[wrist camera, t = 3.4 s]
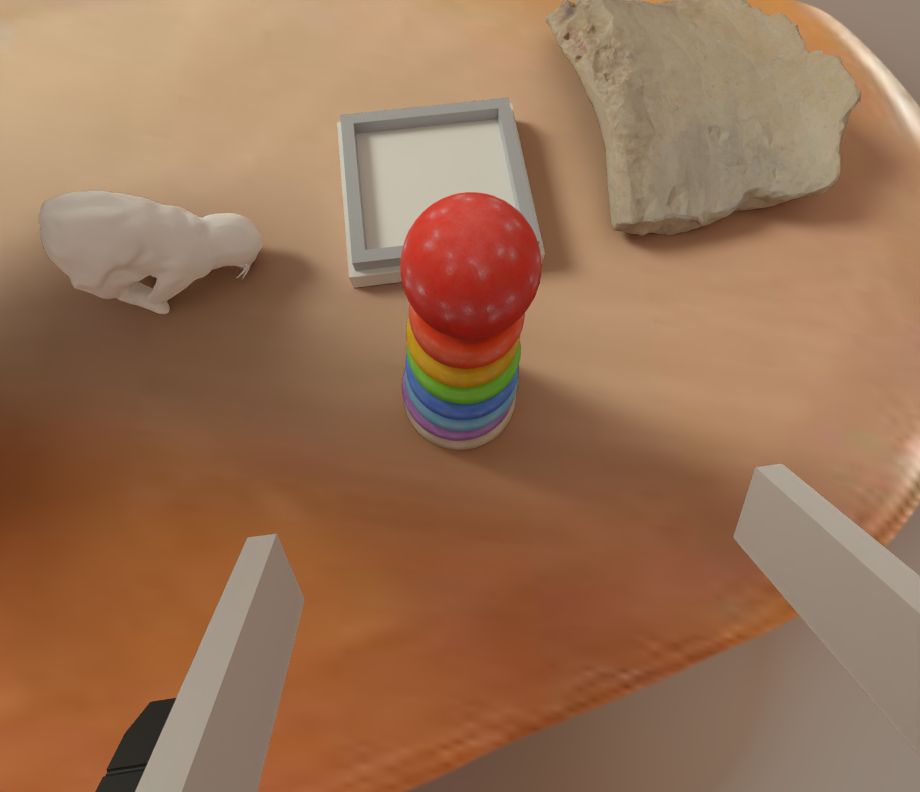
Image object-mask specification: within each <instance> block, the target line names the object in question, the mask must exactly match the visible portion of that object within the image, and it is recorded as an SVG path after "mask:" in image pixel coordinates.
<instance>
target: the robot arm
mask: <svg viewBox="0 0 920 792" xmlns="http://www.w3.org/2000/svg"><path fill="white" fill-rule="evenodd" d="M733 538H734V539H735V540H736V542H737V543H738V544H739V545H740V546H741V547H742V549H743V550H744V551H745V552H746V553H747V554H748V556H749V557H750V558H751V559H752V560H753V561H754V563H755V564H756V565H757V566H758V567H759V569H760V570H761V571H762V572H763V573H764V574H765V576H766V577H767V578H768V579H769V580H770V581H771V583H772V584H773V585H774V586H775V587H776V588H777V590H778V591H779V592H780V593H781V594H782V596H783V597H784V598H785V599H786V600H787V601H788V603H789V604H790V605H791V606H792V607H793V608H794V610H795V611H796V612H797V613H798V614H799V615H800V617H801V618H802V619H803V620H804V621H805V622H806V624H807V625H808V626H809V627H810V628H811V630H812V631H813V632H814V633H815V634H816V635H817V637H818V638H819V639H820V640H821V641H822V642H823V644H824V645H825V646H826V647H827V648H828V649H829V651H830V652H831V653H832V654H833V655H834V656H835V658H836V659H837V660H838V661H839V662H840V663H841V665H842V666H843V667H844V668H845V669H846V671H847V672H848V673H849V674H850V675H851V676H852V678H853V679H854V680H855V681H856V682H857V683H858V685H859V686H860V687H861V688H862V689H863V691H864V692H865V693H866V694H867V695H868V696H869V697H870V699H871V700H872V701H873V702H874V703H875V705H876V706H877V707H878V708H879V709H880V710H881V712H882V713H883V714H884V715H885V716H886V717H887V719H888V720H889V721H890V722H891V723H892V724H893V726H894V727H895V728H896V729H897V730H898V731H899V733H900V734H901V735H902V736H903V737H904V739H906V741H907V742H908V743H909V744H910V745H911V747H912V748H913V749H914V750H915V752H916V753H917V754H918V755H919V756H920V576H919V575H918V574H916V573H915V572H914V571H913V570H912V569H910V568H909V567H908V566H906V565H905V564H904V563H903V562H902V561H901V560H899V559H898V558H897V557H896V556H895V555H893V554H892V553H891V552H890V551H888V550H887V549H886V548H885V547H883V546H882V545H881V544H880V543H879V542H877V541H876V540H875V539H874V538H872V537H871V536H870V535H869V534H868V533H866V532H865V531H864V530H863V529H861V528H860V527H859V526H858V525H857V524H855V523H854V522H853V521H852V520H850V519H849V518H848V517H847V516H846V515H844V514H843V513H842V512H841V511H839V510H838V509H837V508H836V507H835V506H833V505H832V504H831V503H830V502H828V501H827V500H826V499H825V498H823V497H822V496H821V495H820V494H819V493H817V492H816V491H815V490H814V489H812V488H811V487H810V486H809V485H808V484H806V483H805V482H804V481H803V480H801V479H800V478H799V477H798V476H797V475H795V474H794V473H793V472H792V471H790V470H789V469H788V468H787V467H786V466H784V465H783V464H775V465H768V466H761V467H755V470H754V473H753V476H752V479H751V483H750V486H749V489H748V492H747V495H746V498H745V502H744V505H743V508H742V511H741V514H740V517H739V520H738V524H737V527H736V530H735V533H734V536H733ZM304 601H305V599H304V596H303V594H302V592H301V589H300V587H299V585H298V582H297V580H296V578H295V575H294V573H293V571H292V568H291V566H290V564H289V561H288V559H287V557H286V554H285V552H284V550H283V547H282V545H281V543H280V540H279V538H278V535H277V534H270V535H263V536H255V537H248V538H247V540H246V542H245V544H244V546H243V549H242V551H241V553H240V555H239V558H238V560H237V562H236V564H235V567H234V569H233V571H232V573H231V576H230V578H229V580H228V583H227V585H226V587H225V589H224V592H223V594H222V596H221V598H220V601H219V603H218V605H217V607H216V610H215V612H214V614H213V617H212V619H211V621H210V623H209V626H208V628H207V630H206V632H205V635H204V637H203V639H202V641H201V644H200V646H199V648H198V650H197V653H196V655H195V657H194V660H193V662H192V664H191V666H190V669H189V671H188V673H187V675H186V678H185V680H184V682H183V684H182V687H181V689H180V691H179V693H178V696H177V698H173V699H166V700H160V701H153V702H150V703H149V704H148V706H147V707H146V708H145V709H144V711H143V712H142V713H141V714H140V716H139V717H138V718H137V719H136V720H135V722H134V723H133V724H132V725H131V727H130V728H129V729H128V730H127V732H126V733H125V734H124V736H123V738H122V740H121V742H120V744H119V746H118V748H117V750H116V752H115V754H114V756H113V758H112V760H111V762H110V764H109V766H108V768H107V774H106V776H105V777H103V778H102V780H101V782H100V784H99V786H98V788H97V790H96V792H257V791H258V787H259V783H260V779H261V775H262V771H263V767H264V763H265V759H266V755H267V751H268V747H269V742H270V738H271V734H272V730H273V726H274V722H275V718H276V714H277V710H278V706H279V702H280V698H281V694H282V690H283V686H284V682H285V678H286V674H287V670H288V666H289V662H290V658H291V654H292V650H293V646H294V642H295V637H296V633H297V629H298V625H299V621H300V617H301V613H302V609H303V605H304Z"/></svg>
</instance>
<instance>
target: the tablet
mask: <svg viewBox="0 0 920 792" xmlns="http://www.w3.org/2000/svg"><path fill="white" fill-rule="evenodd" d="M546 23H547V24H548V25H549V27H550V28H551V30H552V32H553V34H554V36H555V38H556V39H557V42H558V44H559V46H560V48H561V49H562V50H563V53H564V54H565V55H566V56H567V58H568V59H569V61H570V63H571V64H572V65H573V66H574V68H575V70H576V71H577V73H578V75H579V77H580V79H581V81H582V84H583V87H584V88H585V90H586V92H587V95H588V99H589V101H590V102H591V104H592V106H593V108H594V109H595V112H596V116H597V119H598V122H599V125H600V128H601V132H602V137H603V142H604V145H605V149H606V165H607V177H608V191H609V199H610V215H611V224H612V227H613V229H614V230H617V231H621V232H626V233H630V234H639V235H641V236H642V235H645V234H647V233H650V232H651V233H656V234H665V235H673V234H678V233H680V232H688V231H690V230H691V229H696V228H699V227H701V226H706V225H709V224H711V223H713V222H715V221H717V220H719V219H721V218H724V217H727V216H729V215H730V214H731V213H732V212H733V211H742V210H752V209H756V208H765V207H772V206H774V205H776V204H780V203H785V202H787V201H789V200H791V199H798V198H802V197H805V196H809V195H812V196H819V195H821V194H823V193H825V192H826V191H827V190H828V189H830V188H831V187H832V186H833V185H834V184H835V183H836V182H837V180H838V179H839V177H840V163H841V160H842V159H841V156H840V154H839V150H840V143H841V139H842V135H843V132H844V130H845V127H846V125H847V122H848V117H849V114H850V112H851V111H852V109H853V108H854V107H855V106H856V104H857V103H858V102H859V101H860V100H861V92H860V90H859V89H858V88H857V87H856V83H855V80H854V79H853V77H852V76H851V74H850V73H849V72H848V71H847V70H846V69H845V68H844V67H843V64H842V62H841V59H840V57H838V56H835V55H823V52H822V50H815V51H813V52H809V51H808V50H807V49H806V45H805V41H804V40H803V39H802V37H801V35H800V33H799V30H798V26H797V24H793V23H792V22H791V21H790V19H789V18H788V17H787V16H786V15H784V14H781V13H780V14H776V15H766V14H764V13H762V11H761V10H760V9H759V8H752V7H751V6H750V5H749V4H748V2H747V1H746V0H677V1H665V2H661V3H657V4H653V3H649V2H645V1H640V0H631V1H630V0H628V1H625V0H577V1H576V2H575V3H573V2H569V1H568V0H564V1H563V2H562V3H561V5H560V6H559V7H558V8H557V9H556V10H555V11H554V12H551V13H550V14H549V15H548V16H547V17H546Z"/></svg>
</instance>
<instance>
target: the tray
mask: <svg viewBox="0 0 920 792" xmlns="http://www.w3.org/2000/svg"><path fill="white" fill-rule="evenodd" d="M340 118H341V121H340V122H337V126H338V139H339V152H340V165H341V178H342V191H343V204H344V217H345V230H346V243H347V256H348V269H349V278H350V280H351V283H352V285H353V287H354V288H356V287H365V286H373V285H381V284H390V283H398V282H402V280H401V272H400V261H401V253H402V248H403V244H404V241H405V238H406V236H407V233H408V231H409V229H410V228H411V226H412V225H413V223H414V222H415V220H416V219H417V218H418V217H419V216H420V215H421V213H422V212H423V211H425V210H426V209H427V208H428V207H429V206H431V205H432V204H433V203H435V202H437V201H439V200H440V199H443V198H445V197H448V196H450V195H453V194H457V193H465V192H477V193H484V194H489V195H492V196H495V197H497V198H500V199H502V200H504V201H506V202H507V203H509V204H510V205H512V206H513V207H514V208H516V209H517V210H518V211H519V212H520V213H521V214H522V215H523V216H524V217H525V219H526V220H527V221H528V223H529V224H530V226H531V227H532V229H533V231H534V233H535V235H536V238H537V241H538V245H539V248H540V253H541V264H542V262H543V259H544V256H545V251H544V247H543V242H542V238H541V233H540V229H539V224H538V220H537V215H536V211H535V206H534V202H533V197H532V193H531V188H530V184H529V179H528V175H527V170H526V166H525V161H524V157H523V152H522V148H521V143H520V139H519V134H518V130H517V125H516V121H515V116H514V112H513V107H512V104H510V103H509V98H501V99H491V100H481V101H472V102H462V103H452V104H442V105H433V106H423V107H413V108H403V109H394V110H384V111H374V112H365V113H355V114H345V115H340Z"/></svg>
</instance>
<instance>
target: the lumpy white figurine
mask: <svg viewBox="0 0 920 792" xmlns="http://www.w3.org/2000/svg"><path fill="white" fill-rule="evenodd" d="M39 224H40V235H41V240H42V244H43V247H44V249H45V251H46V253H47V255H48V257H49V259H50V260H51V261H52V262H53V263H54V264H55V265H56V266H58V267H59V269H60V270H61V271H62V272H63V273H65V274H67V275H68V276H69V278H70V281H71V283H72V285H73V287H74V288H76V289H78V290H82V291H85V292H88V293H91V294H93V295H96V296H98V297H100V298H103V299H111V298H117V299H118V300H120V301H124V302H126V303H129V304H134V305H138V306H140V307H143V308H146V309H149V310H151V311H153V312H155V313H158V314H167V313H169V311H170V307H169V304H168V302H167V300H169V299H171V298H172V297H174V296H175V295H177V294H178V293H180V292H181V291H183V290H184V289H185V288H187V287H188V286H189V285H190V284H191V283H192V282H193V281H195V280H196V279H199V278H202V277H204V276H206V275H207V274H208V273H209V272H210V271H211V270H213V269H217V268H220V267H223V266H239V267H240V268H241V267H243V268H244V267H245V268H244V269H243V268H242V269H243V271H242V272H241V273H240V274H239V276H241V275H242V274H243V273H244V272H245V273H244V275H243V278H244V276H245V275H246V274H247V272H248V270H249V268H250V266H251V264H252V263H253V261H255V260H256V257H257V255H258V253H259V251H260V250H261V249H262V238H261V235H260V233H259V231H258V229H257V228H256V226H255V225H254V224H253V223H252V222H251V221H250V220H249V219H248V218H246V217H244V216H242V215H239V214H233V213H219V214H211V215H207V216H205V217H202V218H200V217H198V216H196V215H194V214H192V213H190V212H189V211H187V210H186V209H184V208H182V207H178V206H167V205H163V204H160V203H157V202H155V201H152V200H150V199H147V198H143V197H136V196H131V195H128V194H123V193H112V192H105V191H100V190H92V191H85V192H69V193H65V194H62V195H60V196H57V197H54V198H52V199H49V200H47V201H45V202H43V204H42V206H41V209H40V213H39ZM236 270H237V269H236ZM237 272H238V271H237ZM149 275H150V276H152V277H156V278H157V280H156V283H155V286H154V288H151V287H148V286H146V285H144V284H142V283H141V282H139V281H140V280H142V279H144V278H145V277H147V276H149ZM239 276H238V277H239ZM238 277H237V278H238ZM237 278H236V279H237ZM243 278H242V279H243Z"/></svg>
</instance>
